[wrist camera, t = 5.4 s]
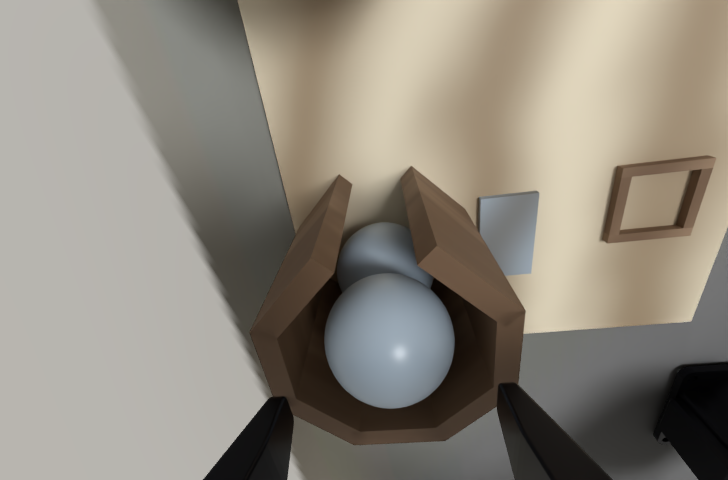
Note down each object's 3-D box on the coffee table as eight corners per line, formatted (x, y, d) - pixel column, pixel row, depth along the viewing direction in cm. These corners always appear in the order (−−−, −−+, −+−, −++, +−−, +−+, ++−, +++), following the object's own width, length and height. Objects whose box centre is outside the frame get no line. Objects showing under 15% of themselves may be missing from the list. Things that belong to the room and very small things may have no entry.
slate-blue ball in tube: (424, 202, 15) (439, 246, 11) (429, 279, 17) (442, 337, 13) (335, 212, 15) (321, 258, 12) (348, 286, 17) (340, 344, 14)
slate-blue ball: (443, 336, 13) (468, 435, 10) (341, 344, 14) (329, 443, 10) (440, 244, 11) (469, 324, 8) (322, 257, 12) (299, 339, 8)
